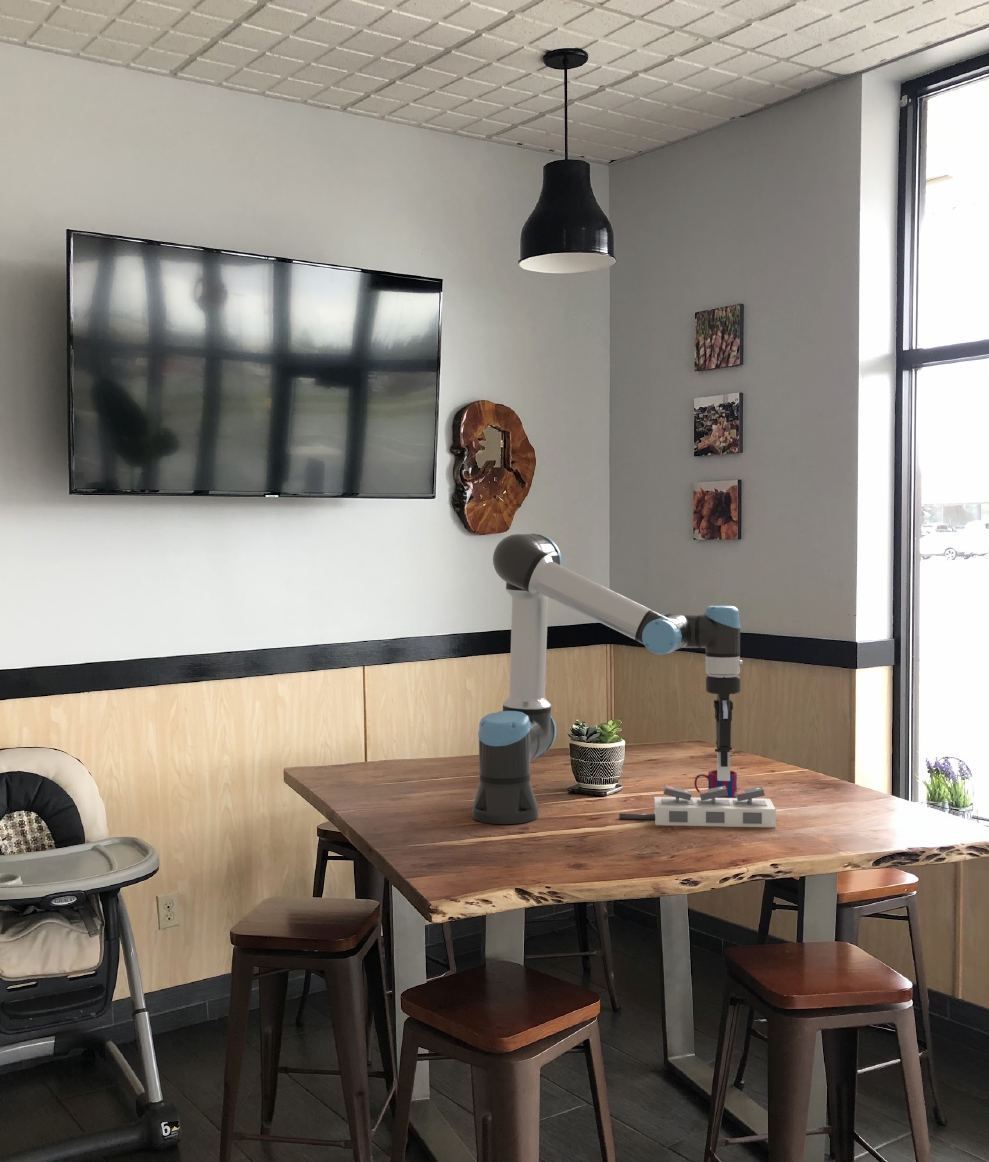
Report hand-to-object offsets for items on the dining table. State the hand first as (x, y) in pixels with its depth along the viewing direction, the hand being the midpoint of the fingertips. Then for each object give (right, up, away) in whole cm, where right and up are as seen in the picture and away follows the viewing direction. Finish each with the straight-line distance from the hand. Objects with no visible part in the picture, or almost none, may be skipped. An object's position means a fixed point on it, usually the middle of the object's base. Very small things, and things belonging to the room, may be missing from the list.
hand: (723, 779), depth 251 cm
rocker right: (+6, -3, -1) cm, 6 cm away
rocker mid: (-2, -3, 0) cm, 4 cm away
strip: (-6, -9, +1) cm, 11 cm away
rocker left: (-10, -3, +1) cm, 11 cm away
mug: (+2, -9, +20) cm, 22 cm away
